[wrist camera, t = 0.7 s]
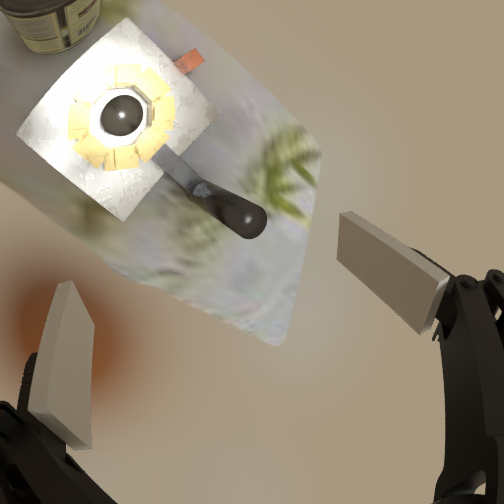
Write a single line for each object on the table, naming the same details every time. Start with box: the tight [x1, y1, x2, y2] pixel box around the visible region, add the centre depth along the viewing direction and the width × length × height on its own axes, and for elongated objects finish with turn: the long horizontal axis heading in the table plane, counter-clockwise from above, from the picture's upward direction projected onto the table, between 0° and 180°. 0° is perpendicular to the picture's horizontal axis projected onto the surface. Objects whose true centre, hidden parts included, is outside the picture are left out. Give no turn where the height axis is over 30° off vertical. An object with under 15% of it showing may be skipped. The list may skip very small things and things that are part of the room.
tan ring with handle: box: [68, 63, 267, 239], centre depth 25 cm, size 21×12×13 cm, turn 42°
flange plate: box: [15, 18, 220, 222], centre depth 27 cm, size 18×20×6 cm
